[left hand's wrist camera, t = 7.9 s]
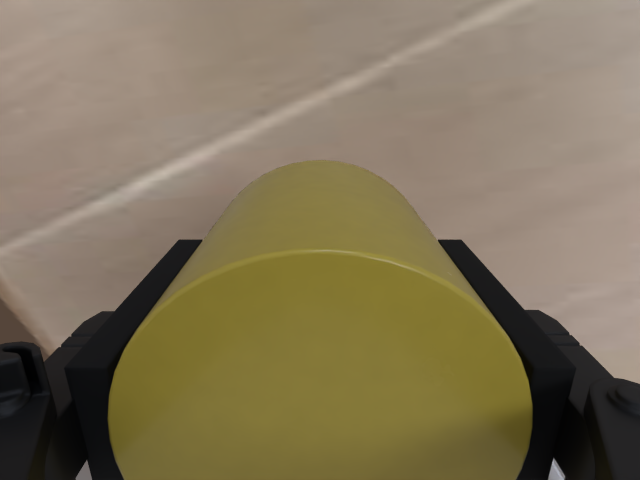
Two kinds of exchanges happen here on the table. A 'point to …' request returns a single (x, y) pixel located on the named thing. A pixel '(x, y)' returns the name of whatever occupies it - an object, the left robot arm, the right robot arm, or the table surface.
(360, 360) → the canister
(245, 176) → the table surface
